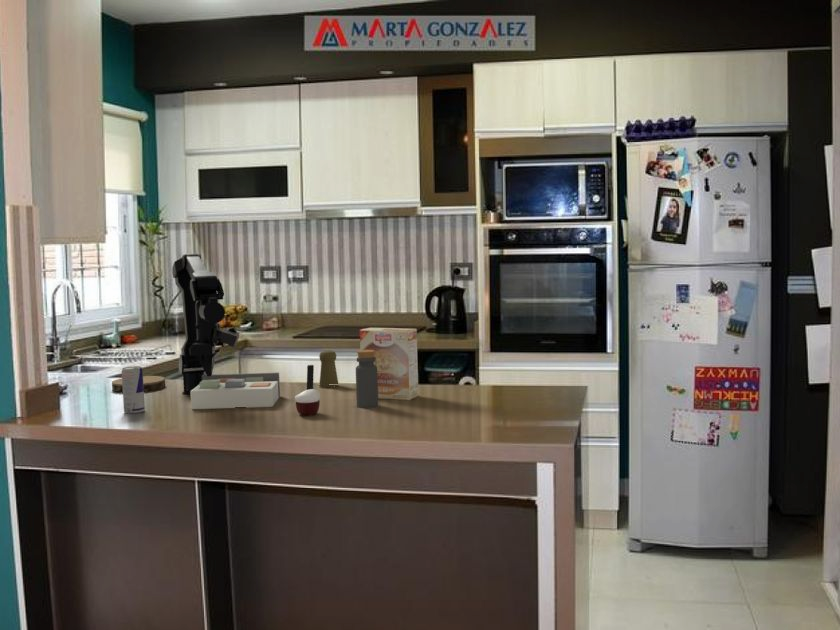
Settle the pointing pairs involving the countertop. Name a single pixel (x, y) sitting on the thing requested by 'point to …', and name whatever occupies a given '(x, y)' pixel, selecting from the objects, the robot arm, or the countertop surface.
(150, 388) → the wood slice
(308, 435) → the countertop surface
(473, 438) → the countertop surface
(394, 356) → the coffeecake box
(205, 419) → the countertop surface
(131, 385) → the energy drink
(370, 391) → the bottle
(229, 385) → the slate key
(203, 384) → the sage key
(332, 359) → the cork
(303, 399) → the rounded body with stick
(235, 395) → the keypad housing
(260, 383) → the terracotta key
